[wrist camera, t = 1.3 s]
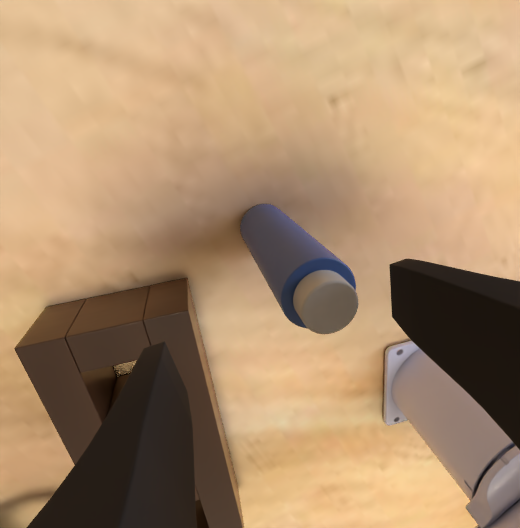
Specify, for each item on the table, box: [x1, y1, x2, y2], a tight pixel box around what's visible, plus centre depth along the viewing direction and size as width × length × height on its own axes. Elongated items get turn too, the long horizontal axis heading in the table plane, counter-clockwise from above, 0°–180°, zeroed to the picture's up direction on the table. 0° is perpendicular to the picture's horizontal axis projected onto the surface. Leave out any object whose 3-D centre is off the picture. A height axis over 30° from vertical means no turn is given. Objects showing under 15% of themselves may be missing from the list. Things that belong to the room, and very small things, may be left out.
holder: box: [15, 278, 244, 528], centre depth 22 cm, size 8×20×4 cm, turn 7°
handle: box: [240, 204, 358, 334], centre depth 15 cm, size 3×3×10 cm
